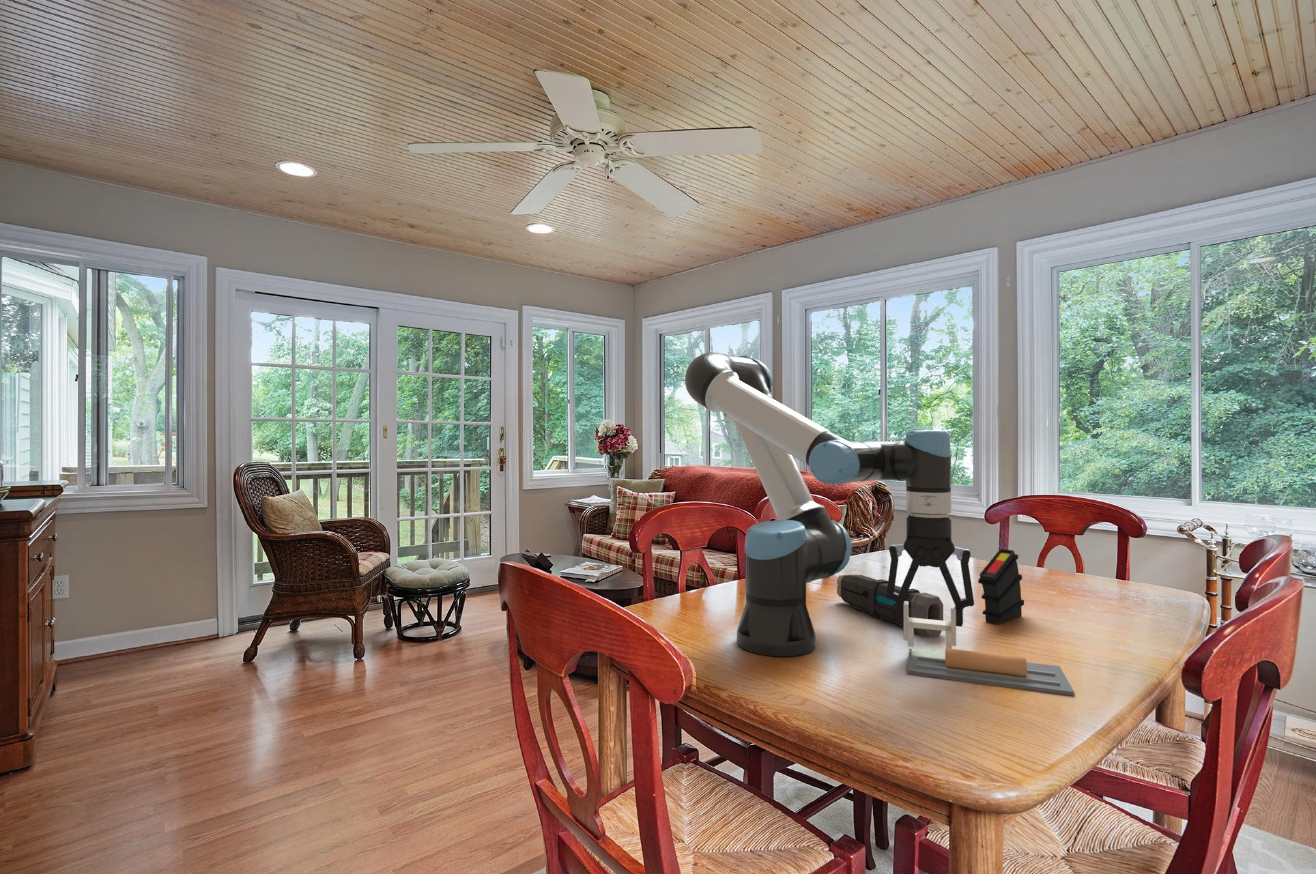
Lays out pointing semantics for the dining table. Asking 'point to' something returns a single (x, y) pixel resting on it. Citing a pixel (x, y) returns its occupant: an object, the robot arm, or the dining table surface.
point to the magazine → (1002, 588)
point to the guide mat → (990, 674)
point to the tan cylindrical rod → (986, 662)
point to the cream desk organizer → (929, 625)
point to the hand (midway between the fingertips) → (929, 640)
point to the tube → (888, 601)
